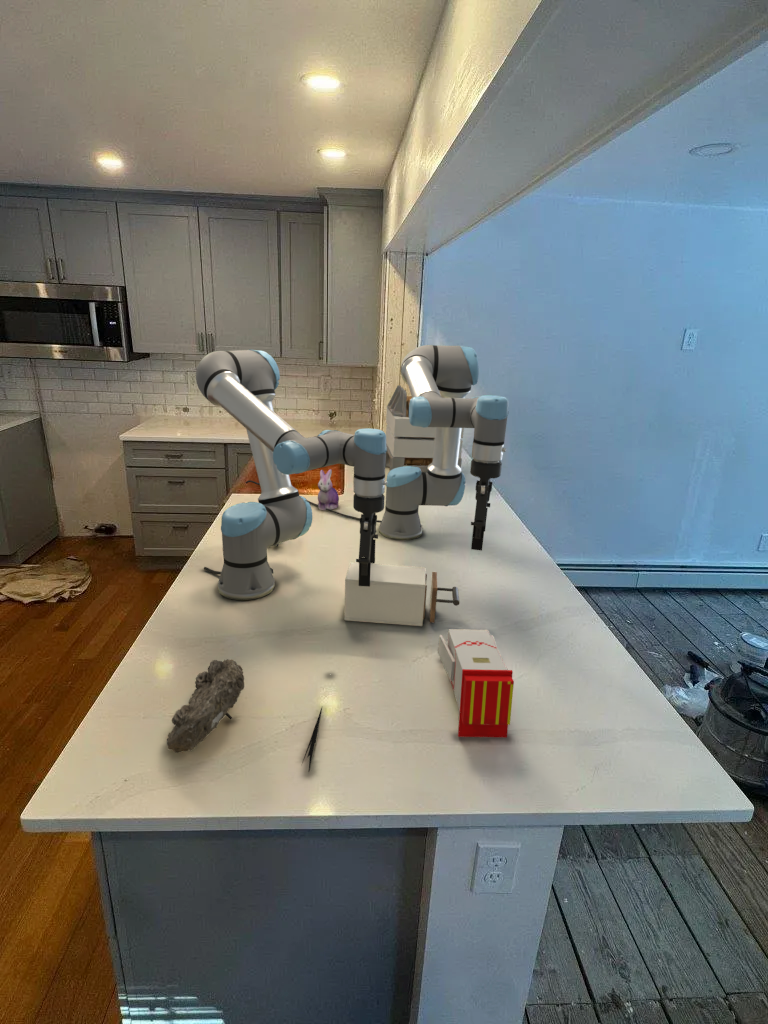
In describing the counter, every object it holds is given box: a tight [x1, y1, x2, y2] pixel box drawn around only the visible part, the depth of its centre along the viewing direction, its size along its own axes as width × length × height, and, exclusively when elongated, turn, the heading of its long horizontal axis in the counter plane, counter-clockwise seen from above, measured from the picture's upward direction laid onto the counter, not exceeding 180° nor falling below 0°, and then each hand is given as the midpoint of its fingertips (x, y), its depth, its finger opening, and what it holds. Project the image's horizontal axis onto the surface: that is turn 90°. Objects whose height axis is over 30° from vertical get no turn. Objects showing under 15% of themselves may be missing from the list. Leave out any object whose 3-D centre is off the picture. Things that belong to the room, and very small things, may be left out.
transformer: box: [385, 384, 465, 471], centre depth 268 cm, size 34×33×41 cm
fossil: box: [166, 658, 245, 754], centre depth 106 cm, size 22×10×15 cm
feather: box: [301, 673, 332, 771], centre depth 108 cm, size 2×28×2 cm
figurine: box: [317, 468, 340, 511], centre depth 220 cm, size 9×10×15 cm
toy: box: [437, 628, 515, 738], centre depth 117 cm, size 12×13×30 cm
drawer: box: [423, 571, 461, 624], centre depth 145 cm, size 24×9×10 cm, turn 86°
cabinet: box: [343, 561, 427, 627], centre depth 146 cm, size 20×10×12 cm, turn 86°
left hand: (367, 573), depth 144 cm, fingers open, 13 cm apart
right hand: (478, 539), depth 147 cm, fingers open, 13 cm apart
